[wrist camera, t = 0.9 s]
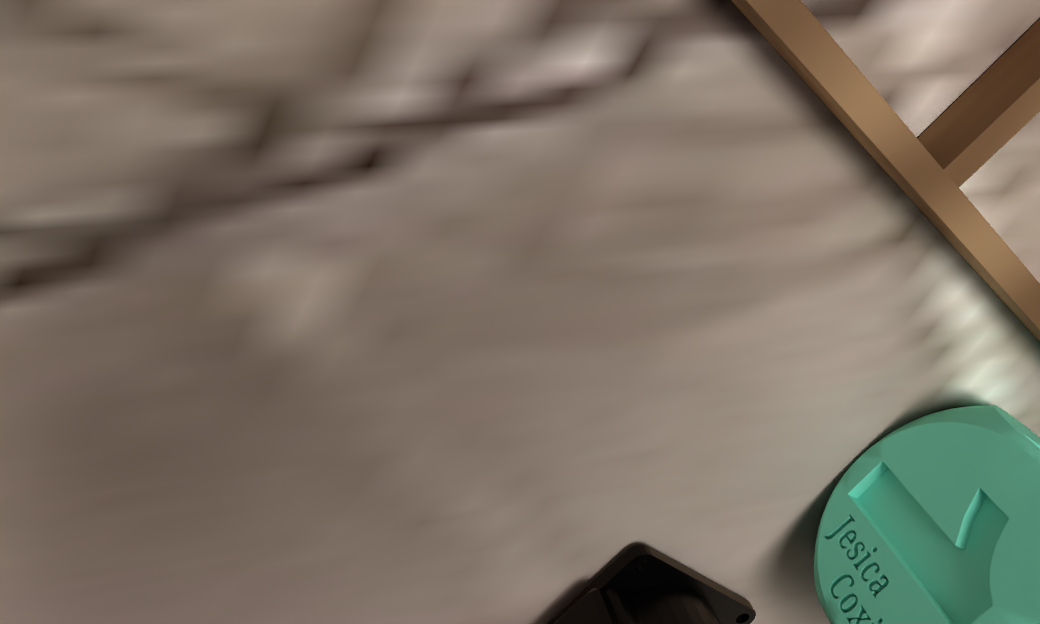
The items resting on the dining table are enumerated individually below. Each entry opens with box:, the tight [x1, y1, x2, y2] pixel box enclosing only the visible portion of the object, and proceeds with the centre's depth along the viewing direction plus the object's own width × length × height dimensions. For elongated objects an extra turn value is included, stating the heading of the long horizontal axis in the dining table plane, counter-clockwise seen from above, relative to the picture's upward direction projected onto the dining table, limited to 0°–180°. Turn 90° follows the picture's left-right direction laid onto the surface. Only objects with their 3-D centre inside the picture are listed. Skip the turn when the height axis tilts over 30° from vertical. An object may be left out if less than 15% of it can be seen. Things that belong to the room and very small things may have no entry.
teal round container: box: [814, 405, 1040, 624], centre depth 28 cm, size 8×8×8 cm
